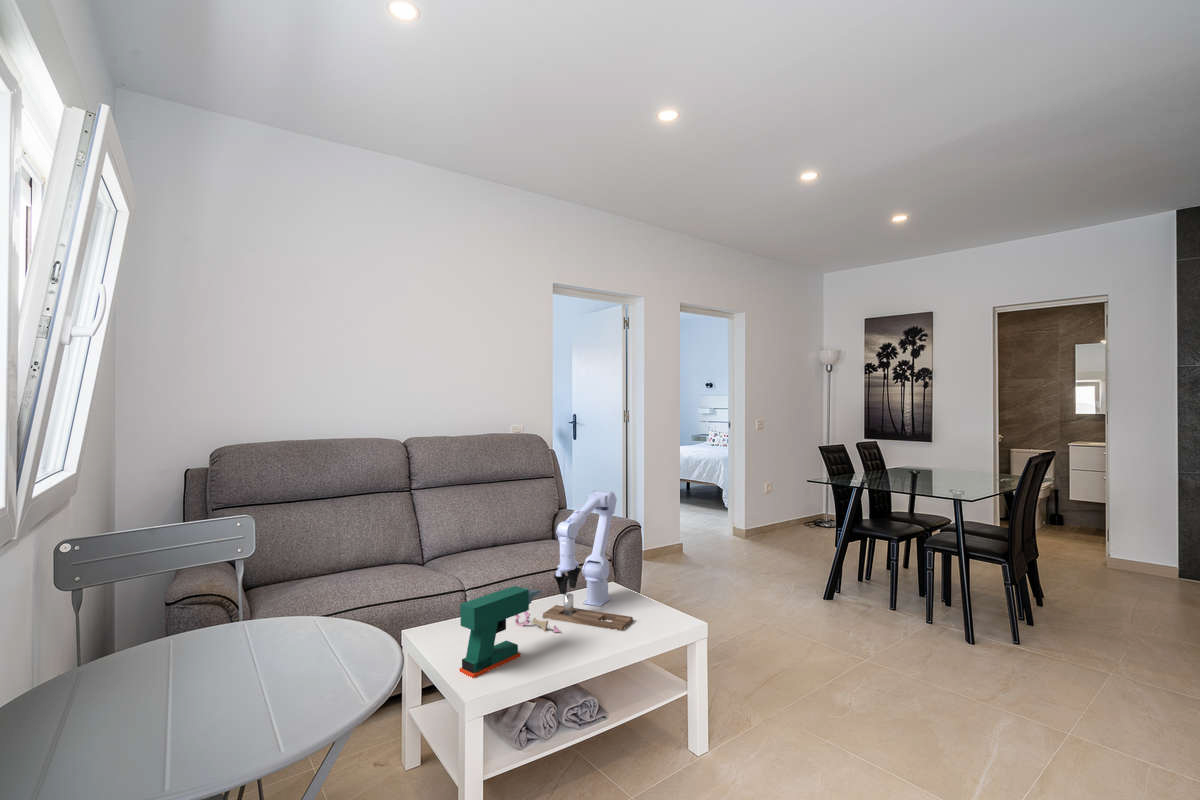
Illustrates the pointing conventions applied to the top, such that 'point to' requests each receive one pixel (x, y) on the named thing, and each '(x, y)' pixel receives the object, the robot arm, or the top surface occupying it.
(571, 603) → the steel rod
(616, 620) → the walnut board
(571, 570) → the robot arm
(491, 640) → the power tool
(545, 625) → the decorative key
